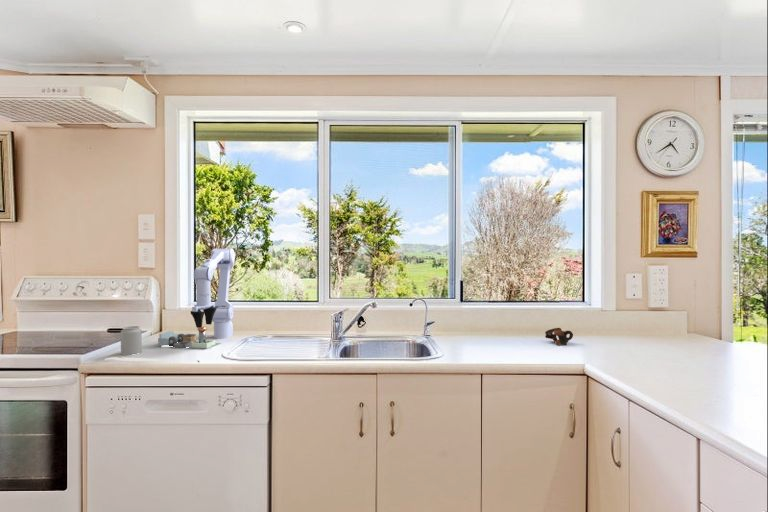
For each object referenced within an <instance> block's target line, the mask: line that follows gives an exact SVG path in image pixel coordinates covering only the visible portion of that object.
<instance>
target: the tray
mask: <svg viewBox="0 0 768 512" xmlns="http://www.w3.org/2000/svg"><path fill="white" fill-rule="evenodd" d="M216 340H217V339H215V340H213V339H206V343H199V340H198V341H196V342H195V343H192V346H193V349H192V350H209V349H211V348H214V347H216V346H217V345H216V343H217V341H216ZM215 345H216V346H215ZM213 346H214V347H213ZM210 347H211V348H210ZM208 348H209V349H208Z"/></svg>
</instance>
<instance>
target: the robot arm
mask: <svg viewBox="0 0 768 512" xmlns="http://www.w3.org/2000/svg"><path fill="white" fill-rule="evenodd" d="M210 252H211V253H210V258H206V260H205V261H204V262H203V263H202V264H201V266H200V267H199V266H198V267H197V268H195V269H194V271H193V278H194V284H195V285H196V289H195V290H196V304H194V306H191V308H192V309H191V310H190V315H191V316H192V318H193V320H194V323H195V327H196V328H197V329H198V328H201V327H203V320H204V318H205V325H212V322H213V338H214V339H215V340H217V339H218V340H219V339H220V340H221V339H223V340H224V339H228V338H230V337H232V336H234V324H233V322H232V319H233V318H234V305H233V304H232V303H231V302H230V301H229V291H230V290H229V289H230V279H231V278H230V277H231V268H232V267H234V265H235V259H236V255H235V250H234V248H213V249H212V250H211V251H210ZM217 268H219V275H218V276H219V277H218V288H217V298H216V301H214V302H211V301H212V299H211V297H212V296H211V292H212V291H211V287H212V285H211V281H212V279H213V277H214V272H215V271H216V269H217Z"/></svg>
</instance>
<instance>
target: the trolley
mask: <svg viewBox="0 0 768 512" xmlns="http://www.w3.org/2000/svg"><path fill="white" fill-rule="evenodd" d="M183 335H186V334H185V333H175V330H170V331H166V332H162V333H159V335H158V336H159V337H158V338H157V340H158V341H157V342H158V346H161V345H169V346H173V344H176V343H177V342H183Z"/></svg>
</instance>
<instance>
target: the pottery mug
mask: <svg viewBox="0 0 768 512" xmlns="http://www.w3.org/2000/svg"><path fill="white" fill-rule="evenodd" d="M544 334H545V337H544V338H545V339H550V340H552V341H553V342H554V343H555V346H556V345H557V346H561V345H563V346H564V345H566V346H567V345H568V343H569V341H570V340H572V339H573V337H574V334H573V332H572V331H571V330H564V331H563V330H562V328H561V327H554V328H551V329H547V330H546V331H545V332H544ZM568 335H569V336H568ZM567 336H568V337H567ZM557 346H556V347H557Z"/></svg>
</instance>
